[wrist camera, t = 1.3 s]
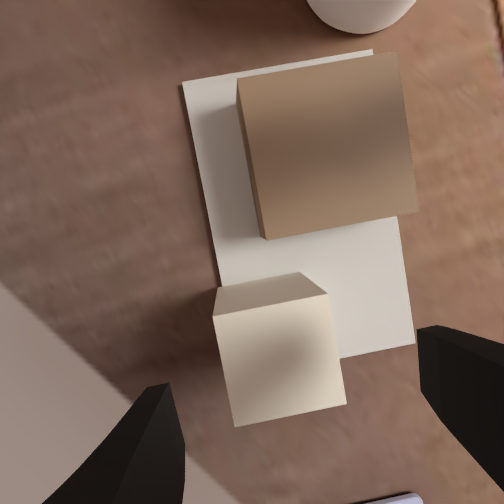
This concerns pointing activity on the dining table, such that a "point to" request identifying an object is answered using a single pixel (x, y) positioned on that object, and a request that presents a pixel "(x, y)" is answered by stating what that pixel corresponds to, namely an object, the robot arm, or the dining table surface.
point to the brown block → (327, 145)
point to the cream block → (277, 348)
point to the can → (360, 13)
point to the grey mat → (303, 245)
